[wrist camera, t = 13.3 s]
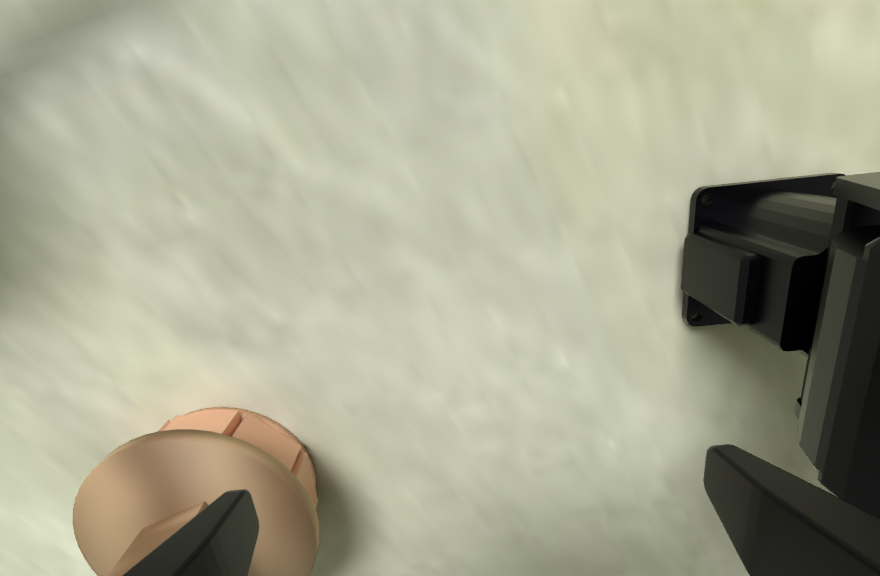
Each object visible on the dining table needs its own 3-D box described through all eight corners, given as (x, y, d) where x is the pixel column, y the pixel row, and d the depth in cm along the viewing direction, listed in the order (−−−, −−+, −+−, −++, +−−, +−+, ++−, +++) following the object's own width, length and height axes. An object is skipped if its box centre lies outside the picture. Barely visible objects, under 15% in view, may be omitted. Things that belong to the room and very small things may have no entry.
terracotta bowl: (298, 399, 23) (277, 439, 20) (329, 533, 26) (315, 586, 23) (126, 415, 23) (80, 457, 20) (176, 547, 26) (143, 601, 23)
